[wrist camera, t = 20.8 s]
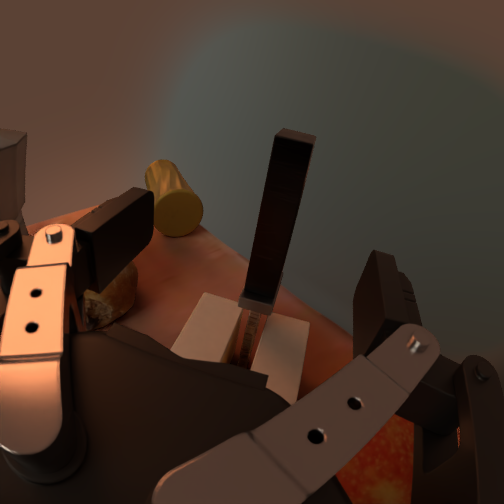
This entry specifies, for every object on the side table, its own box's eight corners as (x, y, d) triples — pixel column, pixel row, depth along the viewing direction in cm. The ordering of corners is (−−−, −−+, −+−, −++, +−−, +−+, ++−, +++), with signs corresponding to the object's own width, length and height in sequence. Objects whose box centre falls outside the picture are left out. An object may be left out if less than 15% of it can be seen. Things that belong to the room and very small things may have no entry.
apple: (349, 423, 21) (401, 357, 17) (413, 501, 15) (489, 452, 11) (257, 470, 17) (290, 415, 13) (325, 567, 11) (397, 554, 7)
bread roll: (149, 320, 31) (163, 243, 30) (94, 357, 21) (106, 253, 20) (73, 290, 32) (83, 220, 31) (10, 312, 22) (16, 221, 21)
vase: (143, 227, 36) (135, 184, 47) (188, 244, 39) (169, 199, 50) (167, 181, 34) (153, 149, 45) (213, 202, 38) (188, 166, 49)
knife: (248, 390, 23) (315, 147, 13) (222, 382, 23) (270, 136, 14) (259, 356, 26) (319, 134, 16) (236, 349, 26) (282, 125, 17)
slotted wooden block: (271, 453, 18) (293, 418, 16) (160, 417, 19) (155, 374, 16) (291, 367, 25) (310, 322, 22) (199, 340, 26) (204, 291, 23)
